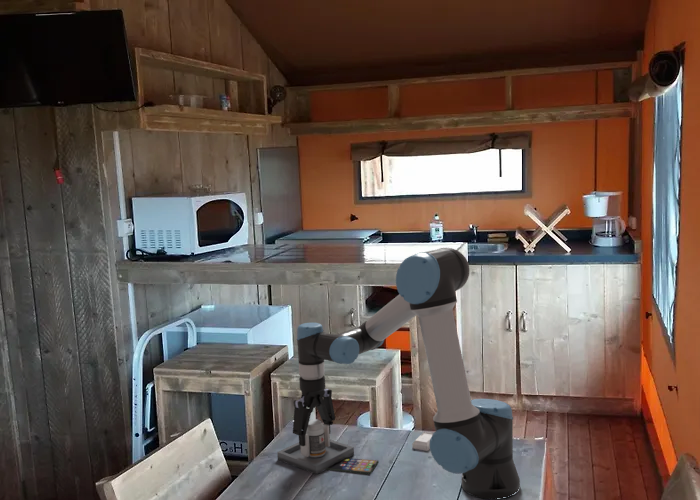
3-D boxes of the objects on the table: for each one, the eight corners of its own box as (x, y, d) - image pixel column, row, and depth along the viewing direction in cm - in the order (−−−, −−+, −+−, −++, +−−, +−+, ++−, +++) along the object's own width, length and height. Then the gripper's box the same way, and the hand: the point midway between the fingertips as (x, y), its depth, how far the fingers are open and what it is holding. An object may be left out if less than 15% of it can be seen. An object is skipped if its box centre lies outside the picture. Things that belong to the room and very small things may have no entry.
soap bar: (412, 449, 210) (412, 441, 209) (423, 438, 217) (423, 430, 217) (427, 452, 207) (427, 443, 207) (438, 440, 215) (438, 432, 215)
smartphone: (329, 458, 205) (329, 454, 205) (378, 464, 201) (378, 460, 201) (320, 470, 198) (320, 466, 198) (370, 476, 193) (370, 472, 193)
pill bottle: (329, 452, 206) (327, 420, 205) (318, 459, 202) (316, 427, 200) (313, 448, 209) (312, 417, 208) (302, 456, 205) (300, 423, 203)
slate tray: (354, 455, 206) (353, 447, 206) (316, 474, 194) (315, 466, 194) (315, 442, 217) (315, 434, 217) (277, 459, 205) (277, 452, 205)
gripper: (327, 365, 213) (330, 436, 216) (276, 383, 197) (281, 459, 200) (345, 369, 208) (348, 441, 211) (295, 388, 192) (299, 466, 195)
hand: (315, 450), depth 205 cm, fingers open, 8 cm apart
